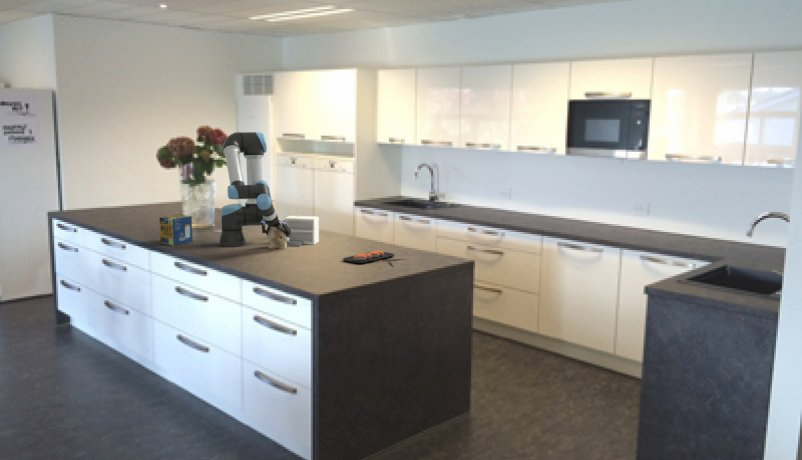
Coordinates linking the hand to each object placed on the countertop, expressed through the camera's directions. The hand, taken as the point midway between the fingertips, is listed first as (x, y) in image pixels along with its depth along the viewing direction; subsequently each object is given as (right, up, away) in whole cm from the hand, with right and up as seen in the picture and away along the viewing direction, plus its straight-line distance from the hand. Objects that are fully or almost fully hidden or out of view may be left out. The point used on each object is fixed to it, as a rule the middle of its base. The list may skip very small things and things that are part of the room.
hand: (280, 239), depth 386 cm
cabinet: (+10, -3, +12) cm, 15 cm away
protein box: (-62, -2, +10) cm, 63 cm away
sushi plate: (+58, -12, -33) cm, 68 cm away
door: (-1, -5, -2) cm, 5 cm away
